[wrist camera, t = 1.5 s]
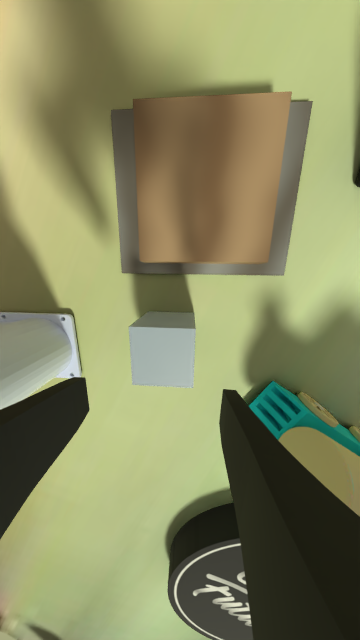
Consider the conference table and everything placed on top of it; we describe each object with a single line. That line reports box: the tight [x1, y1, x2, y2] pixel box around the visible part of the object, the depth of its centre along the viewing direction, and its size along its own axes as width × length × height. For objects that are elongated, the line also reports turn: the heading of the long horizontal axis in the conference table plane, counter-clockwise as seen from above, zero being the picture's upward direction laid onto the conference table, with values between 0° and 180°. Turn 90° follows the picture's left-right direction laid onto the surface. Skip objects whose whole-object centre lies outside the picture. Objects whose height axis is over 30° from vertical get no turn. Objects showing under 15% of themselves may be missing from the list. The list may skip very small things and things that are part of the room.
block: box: [129, 311, 196, 388], centre depth 16 cm, size 5×5×6 cm
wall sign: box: [168, 503, 253, 640], centre depth 26 cm, size 30×4×30 cm
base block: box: [111, 92, 313, 275], centre depth 14 cm, size 16×13×2 cm
